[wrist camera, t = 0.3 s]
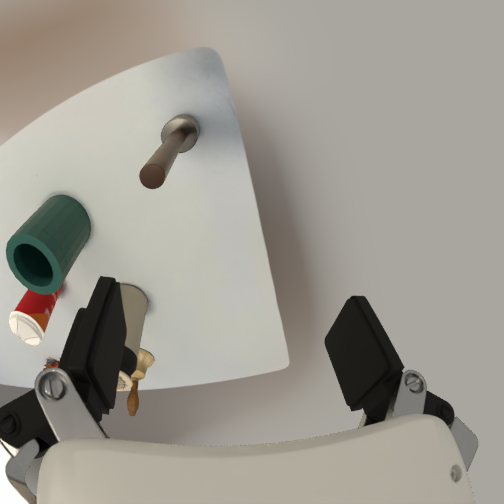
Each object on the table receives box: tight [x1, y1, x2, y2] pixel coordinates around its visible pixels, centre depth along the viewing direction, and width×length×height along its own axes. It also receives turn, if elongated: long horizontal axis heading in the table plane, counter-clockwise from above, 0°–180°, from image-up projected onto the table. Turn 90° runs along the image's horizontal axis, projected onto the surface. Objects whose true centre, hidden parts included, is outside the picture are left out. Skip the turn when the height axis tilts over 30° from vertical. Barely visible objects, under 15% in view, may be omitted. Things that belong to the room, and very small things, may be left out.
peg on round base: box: [139, 115, 199, 189], centre depth 25 cm, size 4×4×20 cm
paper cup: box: [9, 285, 62, 345], centre depth 37 cm, size 8×8×14 cm
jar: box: [6, 195, 91, 295], centre depth 32 cm, size 10×10×12 cm
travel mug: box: [117, 285, 147, 391], centre depth 41 cm, size 8×8×18 cm
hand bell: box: [127, 348, 154, 416], centre depth 52 cm, size 8×8×16 cm
